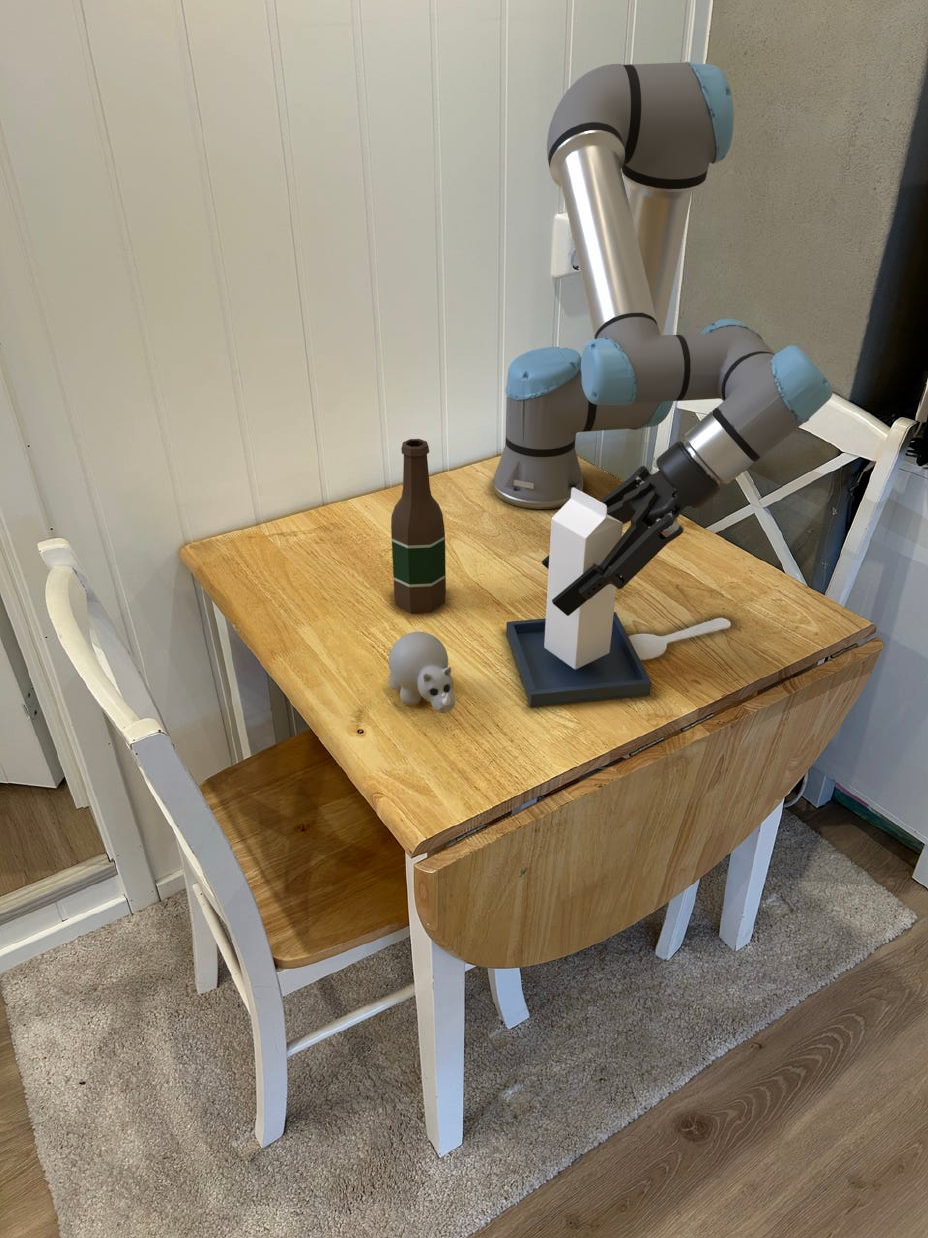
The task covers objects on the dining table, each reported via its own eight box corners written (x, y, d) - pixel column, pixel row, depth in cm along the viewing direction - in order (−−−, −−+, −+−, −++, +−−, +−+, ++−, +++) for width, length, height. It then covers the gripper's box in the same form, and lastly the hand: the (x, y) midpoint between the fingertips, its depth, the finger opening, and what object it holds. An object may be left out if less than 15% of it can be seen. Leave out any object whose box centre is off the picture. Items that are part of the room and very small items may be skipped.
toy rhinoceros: (418, 742, 111) (416, 685, 106) (381, 683, 120) (378, 628, 115) (474, 725, 113) (474, 668, 109) (434, 669, 122) (433, 614, 118)
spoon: (740, 633, 129) (741, 630, 129) (627, 667, 123) (628, 664, 123) (716, 613, 133) (717, 610, 133) (605, 645, 127) (606, 641, 127)
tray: (506, 634, 129) (506, 621, 128) (614, 624, 131) (615, 611, 129) (530, 708, 116) (531, 694, 115) (650, 695, 118) (652, 682, 117)
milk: (575, 670, 119) (587, 514, 106) (543, 647, 123) (551, 494, 110) (610, 653, 122) (626, 498, 109) (578, 630, 126) (590, 479, 113)
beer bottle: (454, 590, 138) (453, 434, 124) (436, 619, 132) (433, 459, 118) (404, 581, 140) (397, 427, 126) (384, 609, 134) (375, 451, 120)
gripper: (750, 527, 101) (589, 655, 110) (697, 445, 119) (561, 561, 127) (708, 484, 98) (545, 619, 106) (660, 405, 115) (523, 527, 123)
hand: (554, 587), depth 116 cm, fingers closed on milk, 8 cm apart
